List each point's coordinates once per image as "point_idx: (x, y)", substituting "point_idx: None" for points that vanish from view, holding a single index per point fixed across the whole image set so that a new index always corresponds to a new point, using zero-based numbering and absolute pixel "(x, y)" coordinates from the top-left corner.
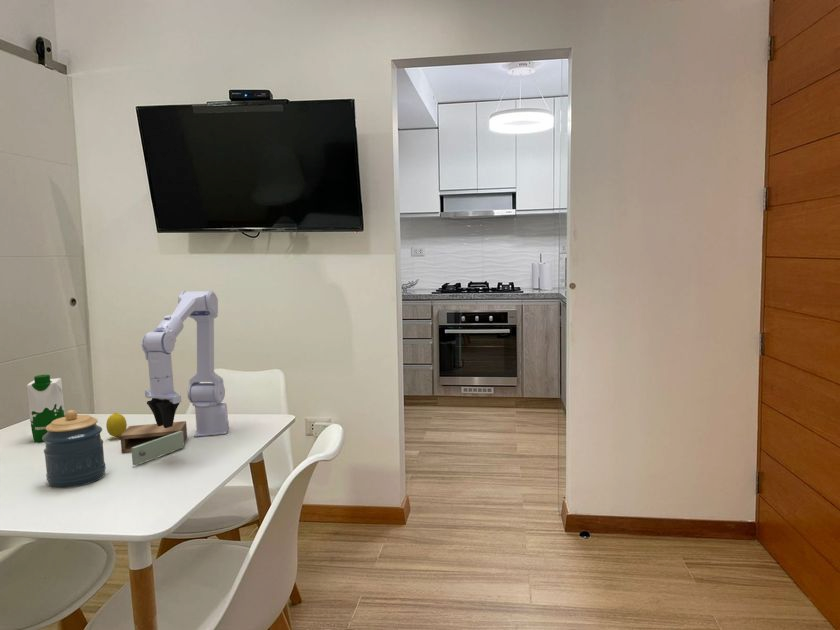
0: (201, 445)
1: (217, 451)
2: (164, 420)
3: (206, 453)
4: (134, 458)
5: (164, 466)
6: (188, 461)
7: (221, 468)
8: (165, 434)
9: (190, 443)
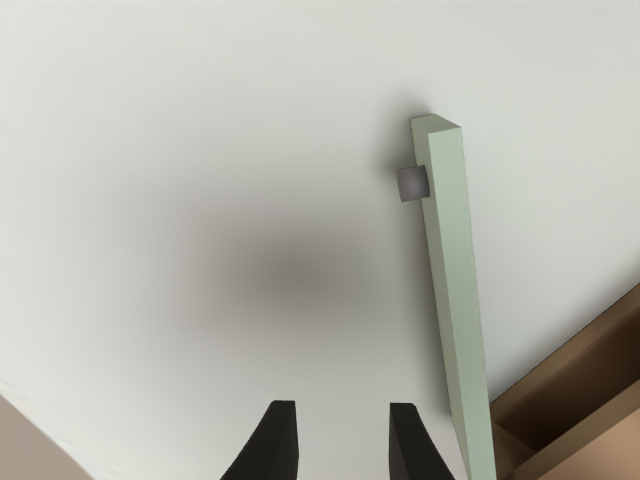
0: None
1: None
2: (238, 457)
3: None
4: (419, 123)
5: (265, 220)
6: (236, 325)
7: (21, 350)
8: (572, 434)
9: None
